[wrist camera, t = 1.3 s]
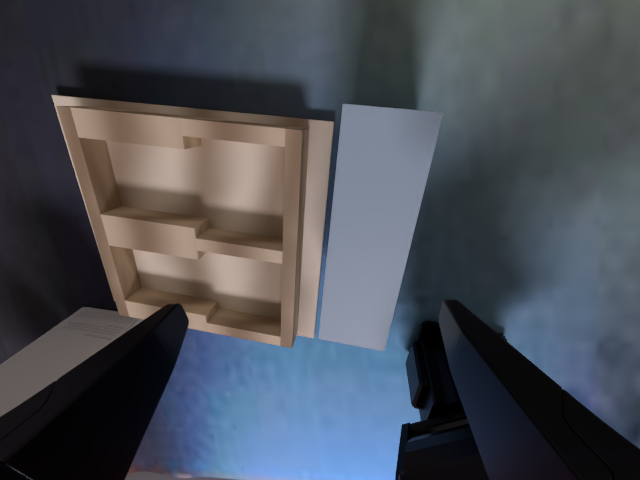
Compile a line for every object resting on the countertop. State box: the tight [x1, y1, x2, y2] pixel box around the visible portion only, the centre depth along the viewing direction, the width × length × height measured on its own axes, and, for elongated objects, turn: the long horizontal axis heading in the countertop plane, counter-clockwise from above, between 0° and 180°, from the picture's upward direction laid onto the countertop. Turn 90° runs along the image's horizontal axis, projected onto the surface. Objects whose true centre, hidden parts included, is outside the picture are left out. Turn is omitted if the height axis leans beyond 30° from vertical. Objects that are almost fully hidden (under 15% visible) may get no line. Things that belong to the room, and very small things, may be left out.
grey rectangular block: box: [319, 104, 444, 351], centre depth 17 cm, size 4×13×6 cm, turn 175°
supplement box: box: [0, 307, 144, 417], centre depth 25 cm, size 7×7×13 cm
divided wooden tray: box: [52, 95, 335, 348], centre depth 22 cm, size 20×18×3 cm
